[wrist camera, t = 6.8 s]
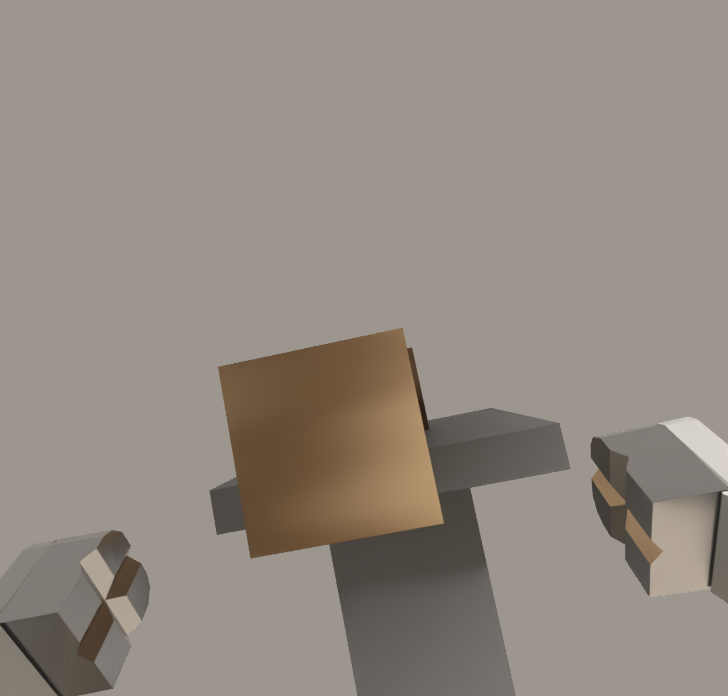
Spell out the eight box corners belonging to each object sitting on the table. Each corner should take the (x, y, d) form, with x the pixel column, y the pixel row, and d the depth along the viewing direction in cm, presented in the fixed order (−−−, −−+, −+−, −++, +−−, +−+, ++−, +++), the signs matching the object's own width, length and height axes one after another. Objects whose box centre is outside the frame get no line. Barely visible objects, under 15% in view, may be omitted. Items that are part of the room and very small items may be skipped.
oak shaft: (426, 423, 27) (411, 353, 27) (477, 517, 7) (420, 259, 8) (356, 437, 27) (342, 367, 28) (219, 563, 7) (178, 312, 8)
